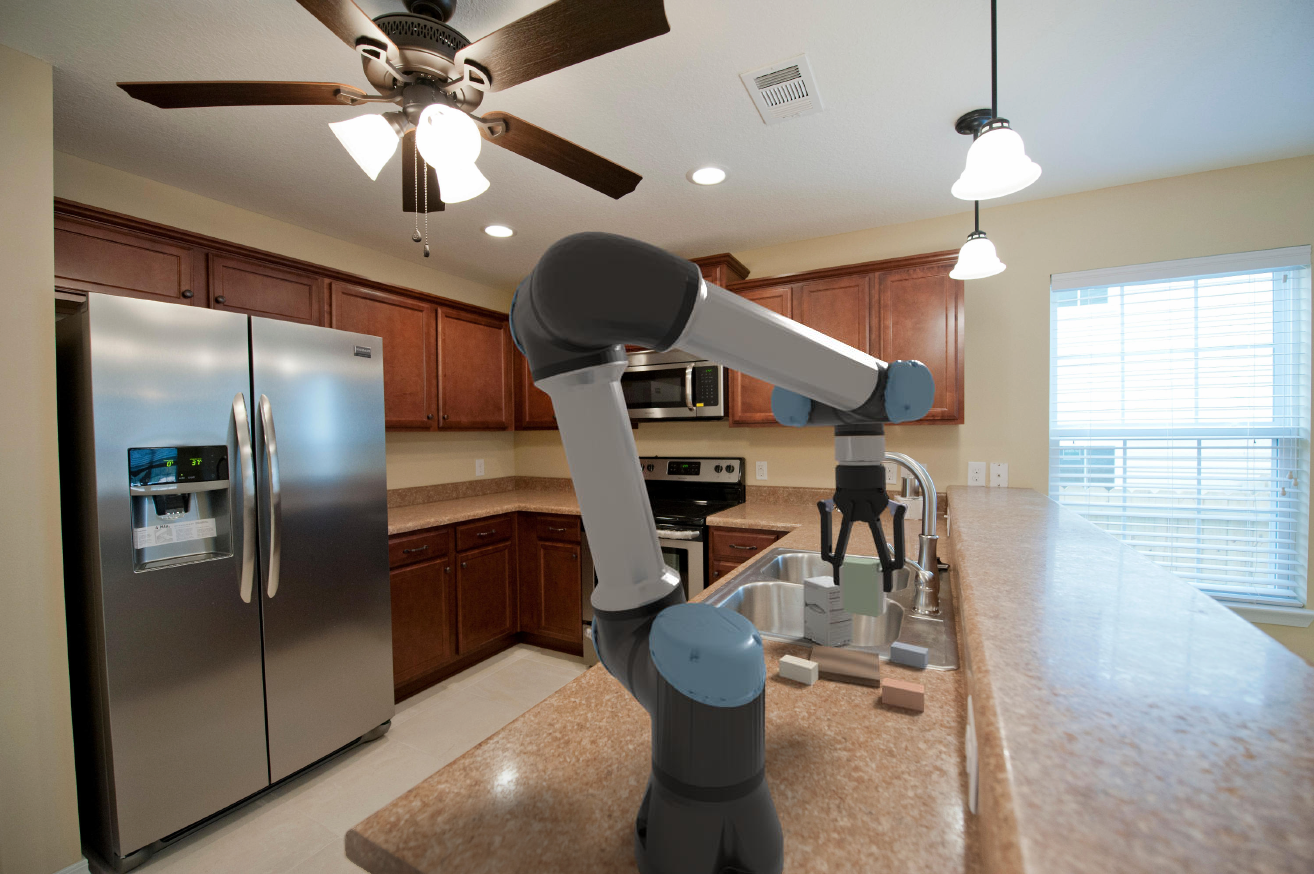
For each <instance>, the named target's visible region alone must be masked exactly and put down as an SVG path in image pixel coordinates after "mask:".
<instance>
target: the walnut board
mask: <svg viewBox="0 0 1314 874" xmlns="http://www.w3.org/2000/svg"><path fill="white" fill-rule="evenodd" d="M811 650H812V651H811V653H810V654H811V655H810V659H809V661H812V662H816V663H818V678H822V679H829V680H835V681H840V682H846V683H852V684H853V683H854V684H859V685H865V686H872V687H876V688H877V687H878V688H881V674H880V673H881V671H880V670H881V669H880V656H879V655H880V654H879V653H878V652H870V651H861V650H856V649H849V648H841V647H828V646H822V645H821V644H813V647H812V649H811Z"/></svg>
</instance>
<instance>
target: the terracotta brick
mask: <svg viewBox="0 0 1314 874" xmlns="http://www.w3.org/2000/svg"><path fill="white" fill-rule="evenodd" d="M881 701H882V703H883V704H887V705H892V706H898V707H901V708H907V709H911V710H915V711H920V712H925V705H926V703H925V685H924V684H918V683H914V682H908V681H903V680H898V679H894V678H888V677H883V679H882V683H881Z"/></svg>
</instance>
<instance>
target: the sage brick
mask: <svg viewBox="0 0 1314 874" xmlns="http://www.w3.org/2000/svg"><path fill="white" fill-rule="evenodd" d="M881 568H882V567H881V563H880V560H879V559H875V558H874V559H873V558H864V557H854V556H848V557H846V559H845V558H844V561H843V597H844V612H847V613H853V615H861V616H866V617H871V618H878V617H879V616H880V614H878V579H877V572H878V571H879V570H880V569H881Z"/></svg>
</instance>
